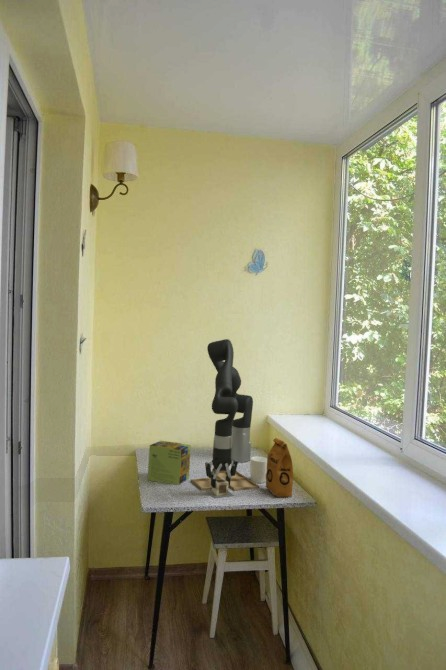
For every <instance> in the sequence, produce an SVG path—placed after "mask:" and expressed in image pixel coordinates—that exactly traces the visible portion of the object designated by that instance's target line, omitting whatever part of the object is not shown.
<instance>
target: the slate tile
mask: <svg viewBox="0 0 446 670" xmlns="http://www.w3.org/2000/svg"><path fill="white" fill-rule="evenodd" d="M204 492H206V493H207V494H208V495H210V496H211V497H212V498H213V499H222V498H230V497H235V494H233V493H232V492H230V491H229V490H228V495H219V496H217V495H215V494H214V493H213V492H212V490H204Z"/></svg>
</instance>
